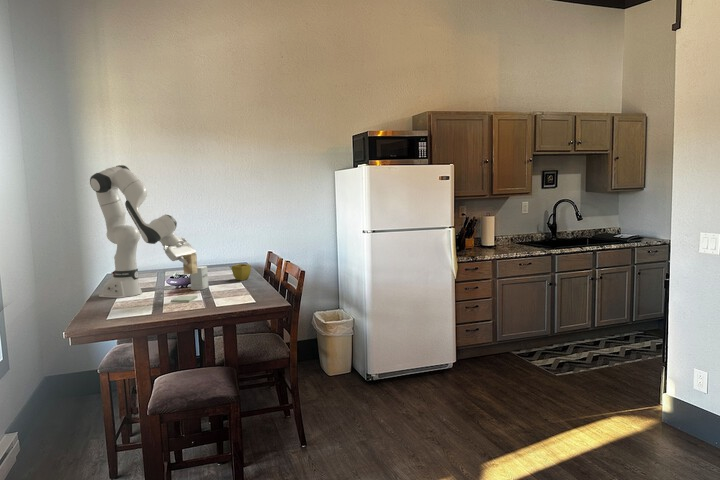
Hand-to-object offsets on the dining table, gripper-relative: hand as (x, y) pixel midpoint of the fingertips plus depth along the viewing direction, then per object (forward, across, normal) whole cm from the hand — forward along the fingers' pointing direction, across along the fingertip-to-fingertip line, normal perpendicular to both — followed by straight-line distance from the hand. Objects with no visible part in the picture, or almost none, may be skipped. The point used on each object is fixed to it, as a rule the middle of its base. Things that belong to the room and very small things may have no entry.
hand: (190, 263), depth 285 cm
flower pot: (+15, +52, +11) cm, 55 cm away
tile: (+12, -4, +15) cm, 19 cm away
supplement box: (+6, +24, +20) cm, 32 cm away
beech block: (+3, 0, +4) cm, 5 cm away
